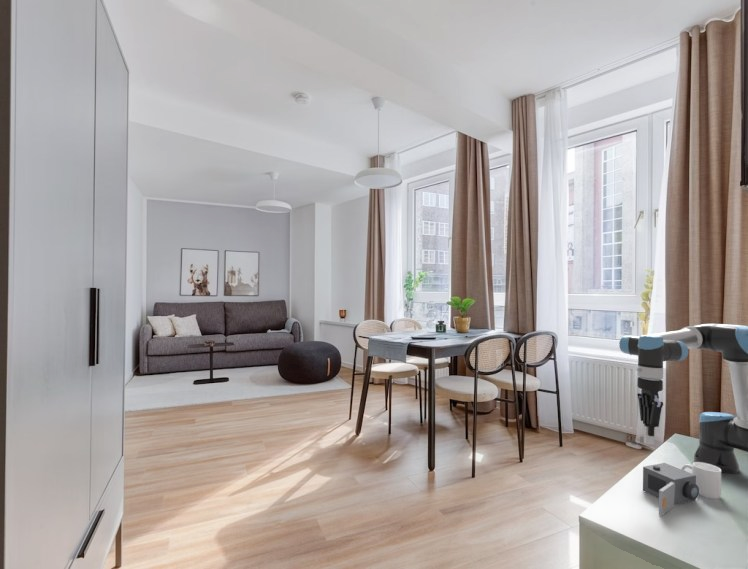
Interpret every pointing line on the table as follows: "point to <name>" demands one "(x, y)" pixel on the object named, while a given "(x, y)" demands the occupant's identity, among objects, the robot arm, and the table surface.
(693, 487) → the camera body
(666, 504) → the side door
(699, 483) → the cup
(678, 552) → the table surface
